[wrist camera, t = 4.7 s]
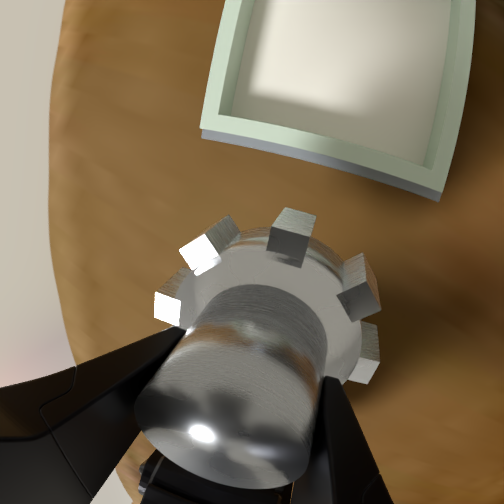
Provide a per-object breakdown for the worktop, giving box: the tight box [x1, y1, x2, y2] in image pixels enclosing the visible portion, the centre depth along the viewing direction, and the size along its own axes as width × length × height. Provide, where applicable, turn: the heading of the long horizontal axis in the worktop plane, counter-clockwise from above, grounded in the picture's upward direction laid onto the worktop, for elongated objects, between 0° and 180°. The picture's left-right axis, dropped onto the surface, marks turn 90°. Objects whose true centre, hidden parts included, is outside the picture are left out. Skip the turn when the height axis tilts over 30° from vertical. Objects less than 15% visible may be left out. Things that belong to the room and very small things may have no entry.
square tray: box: [200, 0, 476, 202], centre depth 12 cm, size 13×13×4 cm
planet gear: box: [134, 207, 381, 489], centre depth 9 cm, size 7×7×6 cm
